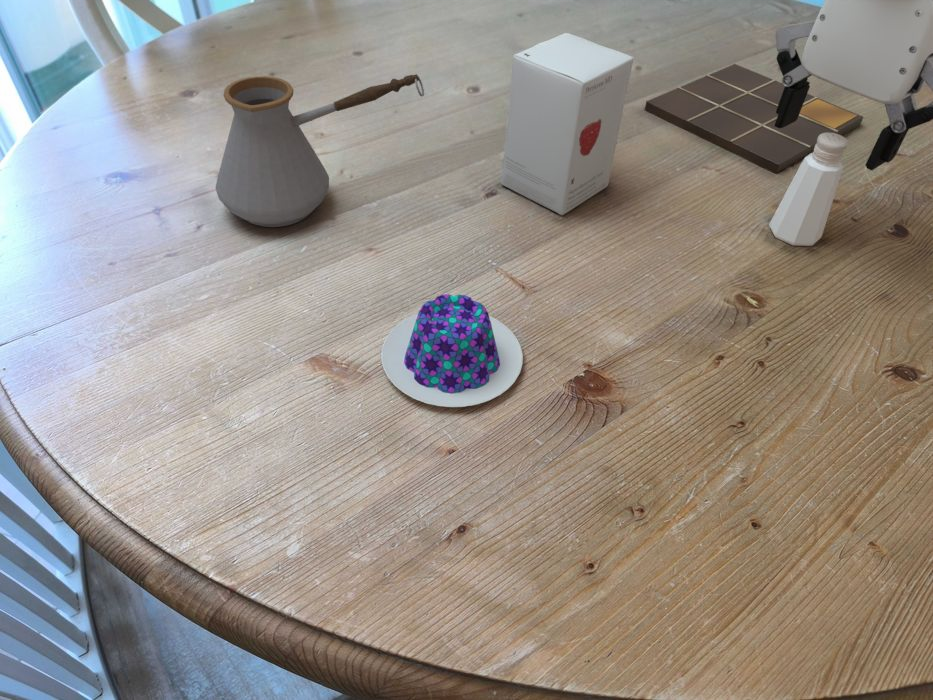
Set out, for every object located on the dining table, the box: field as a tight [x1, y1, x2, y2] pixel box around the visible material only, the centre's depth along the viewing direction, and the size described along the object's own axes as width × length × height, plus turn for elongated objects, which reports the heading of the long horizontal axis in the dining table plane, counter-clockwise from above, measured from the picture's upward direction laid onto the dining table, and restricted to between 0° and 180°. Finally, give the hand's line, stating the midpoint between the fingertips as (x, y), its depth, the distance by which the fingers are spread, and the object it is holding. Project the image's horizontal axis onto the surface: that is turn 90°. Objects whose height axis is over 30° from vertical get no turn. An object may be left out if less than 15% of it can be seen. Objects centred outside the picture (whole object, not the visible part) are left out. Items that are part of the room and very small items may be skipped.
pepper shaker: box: [768, 133, 849, 247], centre depth 76 cm, size 5×5×11 cm
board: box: [644, 63, 864, 174], centre depth 98 cm, size 20×20×1 cm
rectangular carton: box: [500, 32, 634, 216], centre depth 79 cm, size 9×9×15 cm
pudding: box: [380, 293, 524, 408], centre depth 62 cm, size 12×12×5 cm
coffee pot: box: [215, 74, 425, 228], centre depth 74 cm, size 21×12×15 cm, turn 90°
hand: (828, 143), depth 72 cm, fingers open, 9 cm apart
